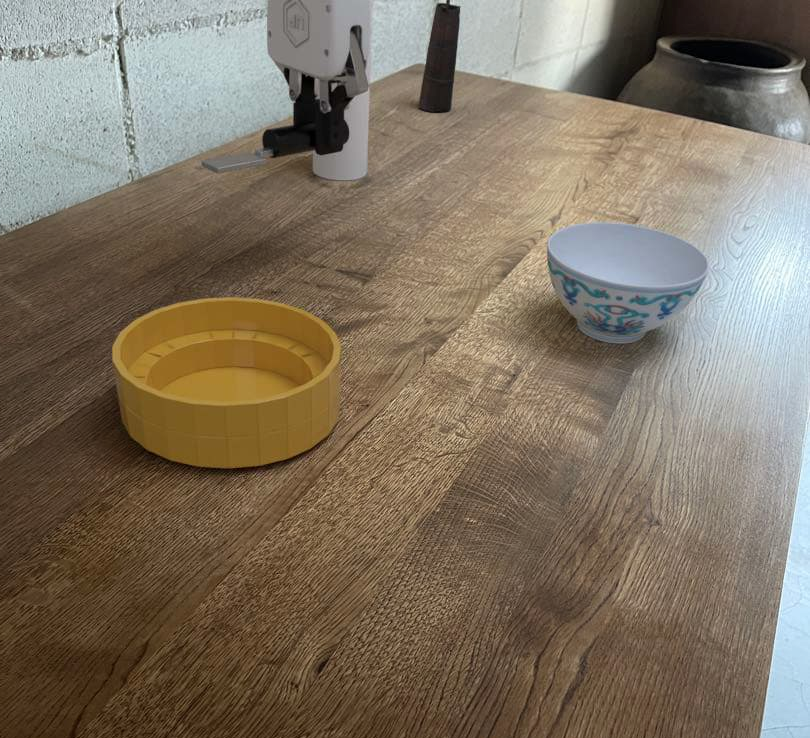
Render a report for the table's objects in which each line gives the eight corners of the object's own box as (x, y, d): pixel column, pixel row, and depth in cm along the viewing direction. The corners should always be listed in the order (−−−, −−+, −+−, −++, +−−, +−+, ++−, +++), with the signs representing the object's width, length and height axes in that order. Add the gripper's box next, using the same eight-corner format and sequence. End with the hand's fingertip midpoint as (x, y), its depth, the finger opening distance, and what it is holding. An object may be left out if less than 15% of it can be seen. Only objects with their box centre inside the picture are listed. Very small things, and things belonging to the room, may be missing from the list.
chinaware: (577, 282, 98) (591, 210, 94) (710, 325, 92) (732, 251, 87) (507, 330, 89) (518, 253, 84) (650, 382, 83) (671, 302, 78)
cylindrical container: (319, 160, 124) (319, -59, 108) (371, 165, 124) (378, -53, 108) (307, 177, 119) (305, -51, 103) (361, 183, 118) (368, -45, 102)
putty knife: (332, 140, 95) (333, 113, 93) (349, 147, 93) (350, 120, 92) (201, 166, 85) (199, 136, 84) (217, 173, 84) (216, 144, 82)
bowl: (81, 403, 74) (69, 335, 70) (254, 342, 84) (251, 279, 80) (205, 503, 65) (198, 432, 61) (382, 422, 75) (386, 356, 71)
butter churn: (444, 122, 142) (463, -97, 124) (393, 109, 146) (404, -105, 128) (474, 111, 148) (496, -100, 130) (424, 99, 152) (439, -108, 134)
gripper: (231, -83, 83) (239, 132, 94) (350, -56, 74) (342, 177, 86) (296, -84, 87) (296, 122, 99) (416, -58, 79) (400, 164, 90)
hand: (318, 146), depth 92 cm, fingers closed on putty knife, 2 cm apart
